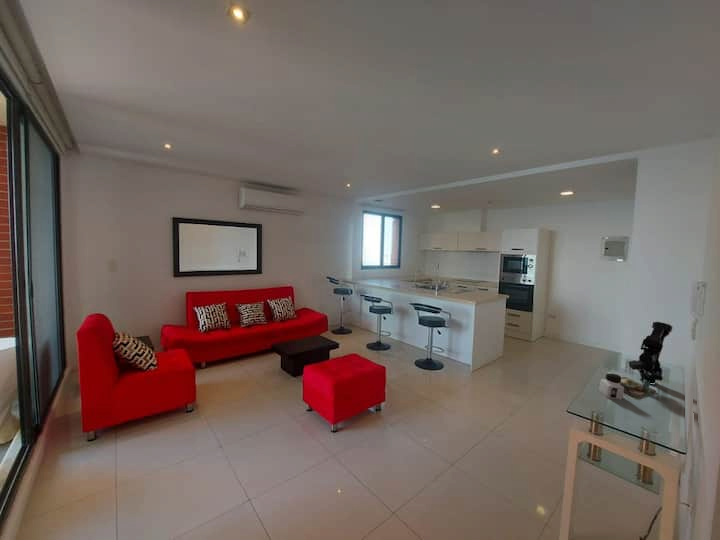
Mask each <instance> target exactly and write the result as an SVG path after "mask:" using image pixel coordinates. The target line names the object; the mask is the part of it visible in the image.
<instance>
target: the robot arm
mask: <svg viewBox="0 0 720 540" xmlns="http://www.w3.org/2000/svg"><path fill="white" fill-rule="evenodd" d="M651 325H652V326H651V328H652V331H651V333H650V335H646V337H645V338H643V341H642V344H641V346H640V350H641V351H643V352H642V353H641V354H640V355H639V356H638V360H631V361H628V366H629V368H630V369H632V370H635V371H638V373H639V374H640V375H639V376H640V379H639V381H641V380H642V381H641V384H643V380H644V379H646V380H649V381H650V383H655V382H657V381H661V382H662V381H663V379H664V377H663V376H662V375H663V369H662V367H661V365H662V364H661V362H660V356H661V353H662V350H663V347H664V346H663V345H664V341H665V338H667V337H668V336H669V335H670V333H672V331H673V326H672V325H671V324H669V323H666V322H660V321H653V322H652V324H651ZM655 385H657V384H656V383H655ZM651 386H654V385H653V384H652V385H651Z"/></svg>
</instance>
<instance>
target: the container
mask: <svg viewBox="0 0 720 540" xmlns="http://www.w3.org/2000/svg"><path fill="white" fill-rule="evenodd" d="M621 378H622V377H621V375H619V374H617V373H614V372H606V375H605V379H604V378H601V379H600V383H599V387H598V388H599V390H598V391H599V392H600V393H601V394H602V395H603V396H604V397H605V398H607V399H615V400H621V401H622V399H623V398H624V397H623V395H624V393H623V392H624V387H623V386H622V385H620V383H621Z"/></svg>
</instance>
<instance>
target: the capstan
mask: <svg viewBox="0 0 720 540" xmlns="http://www.w3.org/2000/svg"><path fill="white" fill-rule="evenodd" d="M631 380H632V379H631ZM631 380H630V378H628V379H621V383H623V384H625V385H627V386H630V388H632V389H634V388H638V389H641V390H642V391H645V392H648V389H649V388H650V385H651V384H650V381H649V380H646V379H644V380H643V383H642V386H641V385H637V384H636V383H635V382H636V381H635V382H633V381H634V380H633V381H631Z"/></svg>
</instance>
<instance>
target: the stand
mask: <svg viewBox="0 0 720 540" xmlns="http://www.w3.org/2000/svg"><path fill="white" fill-rule="evenodd" d="M621 379H630V378H629V377H625V376H622V377H621ZM630 380H631V381H633V382H635V383H636V384H637V385H641V386H642V385H643V383H640V382H637V381H635V380H633V379H630ZM620 385H622V386H623V387H624V392H623V394H626V395H628V396H629V397H632V398H633V399H637V398H641V397H644V396H647V395H651V394H654V393H657V390H656V389H653V388H652V387H649V389H648V392H645V391H642V390H641V389H638V388H634V389H632V388H630V386H627V385H625V384H623V383H620Z"/></svg>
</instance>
